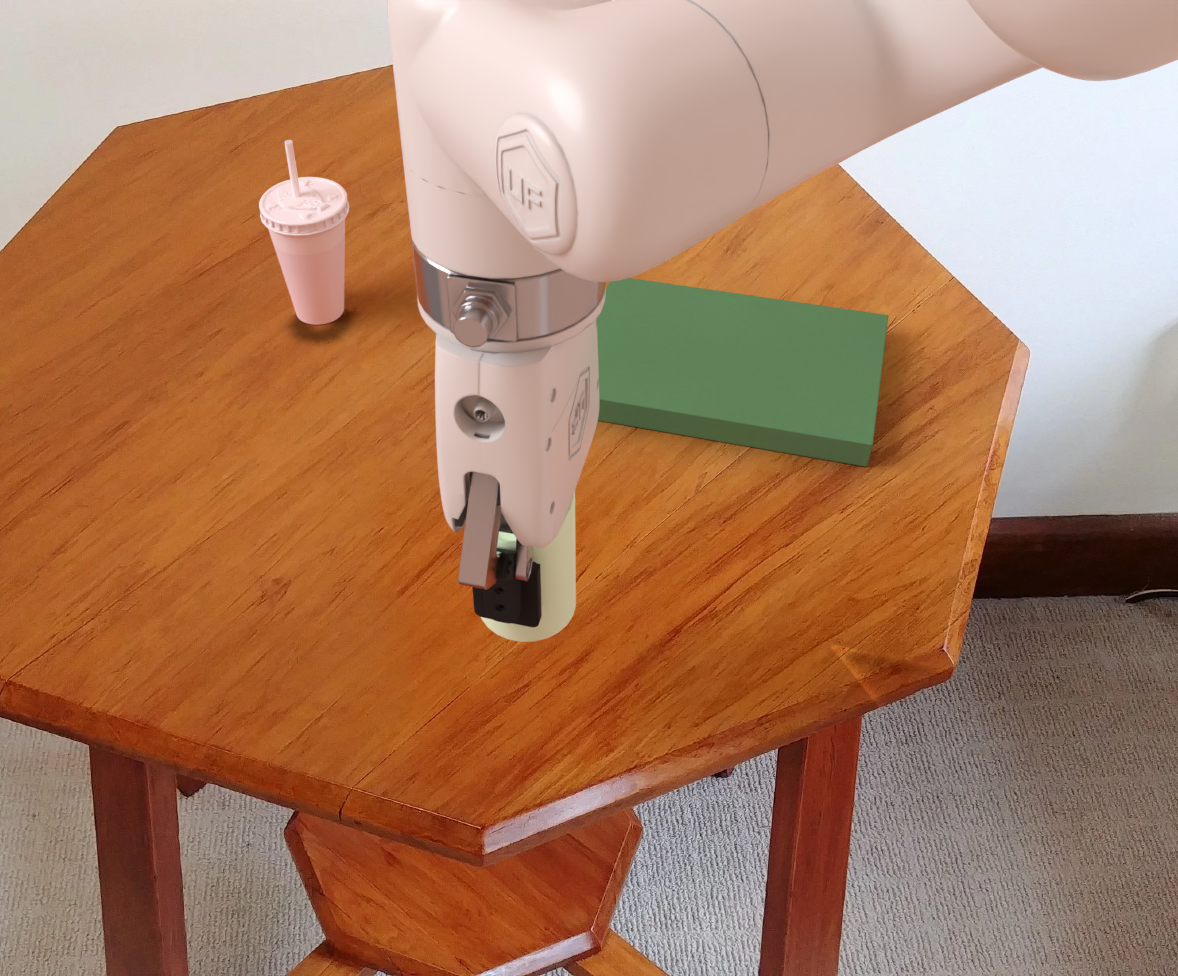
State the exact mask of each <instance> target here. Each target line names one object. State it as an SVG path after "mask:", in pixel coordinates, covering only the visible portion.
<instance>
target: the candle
mask: <svg viewBox="0 0 1178 976" xmlns="http://www.w3.org/2000/svg"><path fill="white" fill-rule="evenodd" d="M576 543H577V542H576V490H575V491H574V494H573V497H572V500H571V502H570V505H569V508H568V510H567V513H566V516H565V518H564V521H563V524H562V526H561V528H560V531H559V533H558V534H557V536H556V537H555V539H554V540H553V541H552V542H551V543H549V544H548V545H546V546H545V547H543V548H537V547H534V549H533V561H534V562H536V563H538V564H540V573H541V610H542V616H541V619H540V622H539V625H538V626H537V627H528V626H523V625H518V624H513V623H510V624H509V623H503V622H498V621H495V620H492V619H488V618H483V617H480V620H481V621H482V622H483V623H484V625H485V626H486V627H487V628H488V630H490V631H492V632H493V633H494V634H496V635H497V636H500V637H502V638H503V639H506V640H508V641H514V642H520V643H525V642H526V643H527V642H528V643H529V642H531V643H533V642H538V641H543V640H546V639H549V638H551V637H553V636H555V635H557V634H559V633H560V632H561V631H562V630H563V629H565V628H566V627H567V626H568V625H569V623H570V622H571V620H572V618H573V617H574V614H575V612H576V608H577V575H576V574H577V572H576V571H577V569H576V568H577V567H576V565H577V562H576V560H577V559H576V557H577V555H576V553H577V551H576V548H577V547H576V546H577V545H576ZM497 548H501V549H506V550H512V551H516V537H515V535H514V534H511V533H505V532H500V531H499V536H498V543H497Z"/></svg>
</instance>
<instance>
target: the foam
mask: <svg viewBox="0 0 1178 976" xmlns="http://www.w3.org/2000/svg"><path fill="white" fill-rule="evenodd" d="M888 323H889V315H888V314H884V313H877V312H869V311H864V310H857V309H848V308H841V307H835V306H827V305H821V304H815V303H807V302H800V301H794V300H788V299H787V300H786V299H779V298H772V297H765V296H759V295H751V294H744V293H737V292H731V291H722V290H715V289H709V288H703V287H696V286H695V287H694V286H689V285H681V284H676V283H675V284H674V283H667V282H661V281H660V282H659V281H653V280H647V279H640V278H634V277H630V278H627V279H623V280H620V281H613V282H608V284H607V286H606V297H605V304H604V306H603V309H602V311H601V313H600V315H599V316H598V317H597V340H598V368H599V416H598V421H597V422H603V423H611V424H616V425H620V426H621V425H622V426H627V427H633V428H640V429H644V430H645V429H646V430H651V431H655V432H661V433H669V434H673V435H679V436H685V437H691V438H697V439H703V440H709V441H714V442H720V443H727V444H732V445H737V446H743V447H749V448H753V449H760V450H766V451H772V452H778V453H783V454H788V455H789V454H790V455H795V456H800V457H807V458H813V459H818V460H825V461H830V462H834V463H842V464H846V465H847V464H848V465H853V466H859V467H865V468H867V467H868V466H869V462H870V458H871V454H872V450H873V447H874V441H875V440H874V439H875V430H876V423H877V415H878V406H879V397H880V388H881V380H882V374H883V373H882V372H883V364H884V357H885V348H886V342H887V341H886V339H887V333H888V331H887V330H888Z"/></svg>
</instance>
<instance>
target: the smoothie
mask: <svg viewBox="0 0 1178 976" xmlns="http://www.w3.org/2000/svg"><path fill="white" fill-rule="evenodd" d="M283 143H284V149H285V155H286V156H285V157H286V162H287V167H288V173H289V179H287V180H284V181H281V182H279V183H276V184H275V185H273V186H271V187H270V188H268V189H267V190H265V192H264V193H263V194H262V196H260V199H259V202H258V210H259V218H260V220H261V223H262V224H263V225H264V226H265V227H266V228H267V229H268V234H269V236H270V239H271V243H272V244H273V248H274V251H275V254H276V257H277V260H278V263H279V266H280V269H281V272H282V275H283V279H284V281H285V284H286V287H287V291H288V294H289V297H290V299H291V303H292V306H293V309H294V312H295V315H296V317H297V318H298V320H299V321H301V322H303V323H305V324H308V325H312V326H313V325H317V326H319V325H320V326H321V325H326V324H330V323H332V322H334V321H336V320H338V319H339V318H341V316H342V315H343V314H344V311H345V276H346V275H345V271H346V269H345V268H346V266H345V264H346V261H345V260H346V259H345V258H346V257H345V256H346V218H347V216H348V215H349V213H350V202H349V200H348V193H347V191H346V189H345V188H344V187H343V186H342V185H341V184H339V183H338V182H336V181H334V180H332V179H329V178H325V177H319V176H318V177H317V176H302V177H301V176H300V177H299V175H298V169H297V162H296V155H295V148H294V142H293V140H292V139H285V141H284V142H283Z"/></svg>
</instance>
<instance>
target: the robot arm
mask: <svg viewBox="0 0 1178 976" xmlns="http://www.w3.org/2000/svg"><path fill="white" fill-rule="evenodd" d="M387 21H388V22H387V23H388V31H389V42H390V52H391V59H392V71H393V80H394V89H395V97H396V99H395V100H396V108H397V117H398V126H399V135H400V136H399V137H400V146H401V156H402V163H403V164H402V165H403V172H404V182H405V191H406V192H405V193H406V200H407V201H406V202H407V210H408V211H407V212H408V216H409V217H408V220H409V229H410V245H411V253H412V262H413V272H414V281H415V291H416V297H417V298H416V301H417V308H418V311H419V314H420V317H421V318H422V320H423V321H424V323H425V324H426V325H427V326H428V328H429V329H431V330H432V331H433V333H435V346H434V347H435V349H434V350H435V351H434V411H435V412H434V413H435V416H434V418H435V443H436V462H437V473H438V474H437V475H438V484H439V493H440V500H441V505H442V506H441V507H442V512H443V514H444V519H445V521H446V523H447V525H448V526H449V528H450V529H451V531H453V532H454V533H458V532H460V530H463V529H464V531H463V538H462V545H461V553H460V561H459V569H458V575H457V581H458V582H457V583H458V585H459V586H465V587H471V589H472V599H473V601H472V602H473V610H474V613H475V614H476V615H477V616H478V617H480V618H481V617H483V618H488V619H492V620H495V621H498V622H503V623H509V624H510V623H513V624H518V625H523V626H528V627H537V626H538V625H539V622H540V619H541V616H542V610H541V573H540V564H538V563H536V562H534V561H533V549H534V547H537V548H543V547H545V546H546V545H548V544H549V543H551V542H552V541H553V540H554V539H555V537H556V536H557V534H558V533H559V531H560V528H561V526H562V524H563V521H564V518H565V516H566V513H567V510H568V508H569V505H570V502H571V500H572V497H573V494H574V491H575V492H576V488H577V486H578V483H579V481H580V478H581V475H582V472H583V468H584V466H585V463H586V460H587V457H588V454H589V451H590V448H591V445H592V443H593V439H594V437H595V433H596V429H597V425H598V422H599V421H598V416H599V368H598V340H597V317H598V316H599V315H600V313H601V311H602V309H603V306H604V304H605V297H606V289H607V283H609V282H613V281H620V280H623V279H627V278H634V277H637V276H640V275H642V274H644V273H646V272H648V271H650V270H653V269H654V268H657V267H658V266H660V265H662V264H664V263H665V262H668V261H669V260H671V259H673V258H674V257H676V256H679V255H680V254H682V253H683V252H685V251H687V250H689V249H691V248H692V247H694V246H696V245H697V244H700V243H701V242H702V241H705V240H706V239H708V238H709V237H711V236H713V235H715V234H716V233H718V232H721V231H722V230H723V229H725V228H727V227H729V226H730V225H733V224H734V223H736V222H737V221H738V220H739V219H741V218H742V217H744V216H746V215H748V214H750V213H751V212H753V211H755V210H756V209H759V208H761V207H762V206H764V205H765V204H767V203H769V202H771V201H772V200H774V199H776V198H778V197H780V196H781V195H783V194H784V193H787V192H788V191H790V190H792V189H794V188H796V187H797V186H799V185H801V184H803V183H805V182H807V181H809V180H811V179H813V178H814V177H816V176H818V175H819V174H821V173H824V172H825V171H827V170H829V169H831V168H833V167H835V166H837V165H839V164H840V163H842V162H844V161H846V160H848V159H849V158H851V157H854V156H855V155H857V154H859V153H860V152H862V151H865V150H866V149H869V148H870V147H872V146H874V145H876V144H878V143H880V142H883V141H884V140H887V139H888V138H890V137H892V136H894V135H896V134H899V133H900V132H903V131H904V130H906V129H909V128H910V127H912V126H915V125H917V124H920V123H922V122H923V121H925V120H927V119H930V118H932V117H934V116H936V115H939V114H941V113H943V112H945V111H947V110H950V109H952V108H954V107H956V106H958V105H960V104H963V103H965V102H967V101H969V100H971V99H974V98H975V97H977V96H980V95H982V94H984V93H987V92H988V91H991V90H994V89H996V88H998V87H1001V86H1003V85H1005V84H1007V83H1009V82H1012V81H1014V80H1016V79H1018V78H1021V77H1023V76H1026V75H1029V74H1031V73H1034V72H1036V71H1038V70H1041V69H1045V70H1048V71H1050V72H1052V73H1056V74H1058V75H1061V76H1065V77H1068V78H1071V79H1076V80H1081V81H1087V82H1088V81H1089V82H1105V81H1106V82H1107V81H1118V80H1122V79H1126V78H1130V77H1134V76H1137V75H1140V74H1145V73H1148V72H1151V71H1154V70H1155V69H1158V68H1161V67H1163V66H1165V65H1168V64H1170V63H1174V62H1175V61H1178V0H387ZM499 531H500V532H505V533H511V534H514V535H515V537H516V551H512V550H506V549H501V548H497V543H498V536H499Z"/></svg>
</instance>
